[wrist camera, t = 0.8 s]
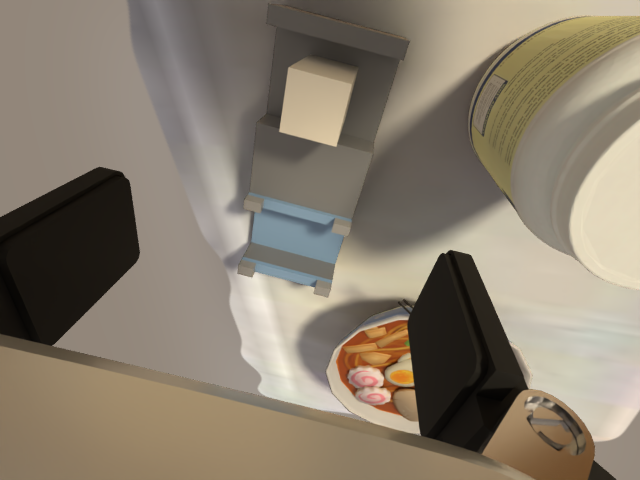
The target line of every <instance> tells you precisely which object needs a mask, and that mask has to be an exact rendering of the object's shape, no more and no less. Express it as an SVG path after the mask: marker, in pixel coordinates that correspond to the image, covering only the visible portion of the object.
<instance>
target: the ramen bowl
mask: <svg viewBox="0 0 640 480" xmlns="http://www.w3.org/2000/svg"><path fill="white" fill-rule="evenodd" d="M403 301H404V302H405V303H406V304H407V305H409V306H404V305H402V304H401V303H400V302H398V303H399V304H400V305H401V307H397V308H394V309H391V310H388V311H385V312H382V313H379V314H375V315H373V316H371V317H369V318H368V319H367V320H366V321H364V322H363V323H362V324H361V325H359V326H358V327H357V328H356V329H355V330H353V331H352V332H351V333H350V334H348V335H347V336H346V337H345V338H344V339H343V340H341V341H340V343H339V344H338V345H337V347H336V348H335V349H334V351H333V354H332V356H331V359H330V361H329V364H328V366H327V369H326V371H325V372H326V375H327V379H328V382H329V386H330V389H331V392H332V394H333V395H334V396H335V397H336V398H337V399H338V400H339V401H340V402H341V403H342V404H343V405H344V407H345V408H346V409H347V410H348V411H349V412H351V413H353V414H355V415H357V416H359V417H361V418H363V419H365V420H367V421H369V422H370V423H374V424H377V425H381V426H385V427H389V428H393V429H396V430H400V431H404V432H408V433H412V434H420V430H419V421H418V413H417V404H416V396H415V388H414V379H413V371H412V362H411V354H410V345H409V337H408V328H407V324H408V318H409V316H410V313H411V311H412V309H413V307H414V306H412V305H410V304H409V303H408V302H407V301H406V300H405V299H403ZM508 341H509V340H508ZM509 343H510V345H511V348H512V350H513V352H514V354H515V357H516V359H517V361H518V364H519V366H520V368H521V371H522V373H523V375H524V379H525V382H526V384H527V386H528V389H529V388H530V384H531V380H532V376H533V375H532V373H531V371H530V369H529V366H528V364H527V362H526V360H525V358H524V356H523V354H522V352H521V350H520V349H519V348H518V347H517V346H515V345H514V344H513V343H512V342H510V341H509Z"/></svg>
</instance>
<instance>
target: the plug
mask: <svg viewBox="0 0 640 480" xmlns="http://www.w3.org/2000/svg"><path fill="white" fill-rule="evenodd" d="M357 71H358V67H356V66H352V65H348V64H345V63H341V62H337V61H333V60H330V59H326V58H322V57H318V56H315V55H311V54H310V55H309V56H307V57H305V58H304V59H302V60H300V61H298V62H297V63H295V64H293V65H292V66H290V67H288V74H287V81H286V88H285V95H284V102H283V109H282V116H281V123H280V130H279V132H282V133H286V134H290V135H293V136H297V137H301V138H305V139H308V140H312V141H316V142H320V143H323V144H327V145H331V146H335V147H336V146H337V143H338V140H339V137H340V134H341V131H342V127H343V124H344V121H345V118H346V114H347V111H348V107H349V103H350V99H351V95H352V91H353V87H354V83H355V79H356V75H357Z"/></svg>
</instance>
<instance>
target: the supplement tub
mask: <svg viewBox="0 0 640 480" xmlns="http://www.w3.org/2000/svg"><path fill="white" fill-rule="evenodd" d="M468 132H469V139H470V143H471V146H472V148H473V151H474V153H475V154H476V156H477V158H478V159H479V160H480V162H481V163H482V164H483V165H484V167H485V168H486V169H487V171H488V172H489V174H490V175H491V176H492V178H493V179H494V181H495V182H496V184H497V185H498V187H499V188H500V189H501V191H502V192H503V193H504V195H505V196H506V198H507V199H508V200H509V202H510V203H511V205H512V206H513V207H514V209H515V210H516V212H517V213H518V215H519V217H520V219H521V220H522V222H523V223H524V224H525V225H526V227H527V228H528V229H529V230H530V231H531V232H532V233H533V234H534V235H536V236H537V237H538V238H539V239H540V240H542V241H543V242H544V243H546V244H547V245H549V246H550V247H552V248H554V249H556V250H558V251H560V252H563V253H565V254H567V255H571V256H572V257H573V258H575V259H576V260H577V261H579V262H580V263H581V264H582V265H583V266H584V267H585V268H586V269H587V270H588V271H590V272H591V273H592V274H594V275H595V276H597V277H599V278H601V279H602V280H604V281H607V282H609V283H611V284H614V285H618V286H621V287H625V288H630V289H636V290H640V16H574V17H568V18H564V19H560V20H557V21H554V22H551V23H549V24H546V25H544V26H541V27H539V28H537V29H535V30H533V31H531V32H529V33H528V34H526V35H524V36H523V37H521V38H520V39H518V40H517V41H516V42H514V43H513V44H511V45H510V46H509V47H508V48H507V49H506V50H504V51H503V52H502V53H501V54H500V55H499V56H498V58H497V59H496V60H495V61H494V62H493V63H492V64H491V66H490V67H489V68H488V70H487V71H486V73H485V74H484V76H483V77H482V79H481V81H480V82H479V84H478V86H477V88H476V91H475V93H474V96H473V99H472V102H471V105H470V110H469V116H468Z"/></svg>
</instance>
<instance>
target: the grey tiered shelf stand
mask: <svg viewBox="0 0 640 480" xmlns="http://www.w3.org/2000/svg"><path fill="white" fill-rule="evenodd" d="M266 24H268V25H272V26H276V27H277V29H276V37H275V46H274V54H273V63H272V72H271V80H270V89H269V97H268V106H267V114H266V115H265V116H264V117H262V118H261V119H260V120H259V121H258V122H257V123H256V133H255V143H254V153H253V163H252V173H251V183H250V192H249V194H248V195H247V196H246V198H245V199H244V208H243V209H246V210H250V211H253V212H255V214H254V223H253V231H252V240H251V243H250V245H249V247H248V249H247V251H246V252H245V254H244V256H243V258H242V260H241V261H240V263H239V265H238V274H241V275H244V276H248V277H253V274H254V272H259V273H262V274H266V275H270V276H274V277H277V278H281V279H285V280H289V281H293V282H296V283H300V284H304V285H308V286H311V287H315V290H314V294H316V295H320V296H324V297H328V296H329V293H330V290H331V285H332V279H333V273H334V268H335V263H336V260H337V257H338V254H339V250H340V247H341V244H342V241H343V238H344V236H348V235H349V232H350V229H351V223H352V218H353V215H354V212H355V209H356V205H357V202H358V199H359V196H360V193H361V190H362V187H363V184H364V181H365V178H366V175H367V171H368V168H369V165H370V162H371V159H372V156H373V147H374V140H375V137H376V133H377V130H378V127H379V124H380V121H381V118H382V114H383V111H384V108H385V105H386V102H387V99H388V96H389V92H390V89H391V86H392V83H393V80H394V77H395V74H396V70H397V67H398V64H399V61H400V60H404V57H405V54H406V51H407V48H408V45H409V42H410V41H409V40H408V39H406V38H404V37H401V36H397V35H393V34H389V33H386V32H382V31H378V30H374V29H371V28H367V27H363V26H359V25H356V24H352V23H348V22H344V21H341V20H337V19H333V18H329V17H326V16H322V15H318V14H315V13H311V12H307V11H303V10H300V9H296V8H292V7H288V6H285V5H278V4H269V3H268V13H267V23H266ZM310 54H311V55H315V56H318V57H322V58H326V59H330V60H333V61H337V62H341V63H345V64H348V65H352V66H356V67H358V71H357V75H356V79H355V83H354V87H353V91H352V95H351V99H350V103H349V107H348V111H347V114H346V118H345V121H344V124H343V127H342V131H341V134H340V137H339V140H338V143H337V146H336V147H335V146H331V145H327V144H323V143H320V142H316V141H312V140H308V139H305V138H301V137H297V136H293V135H290V134H286V133H282V132H279V130H280V123H281V116H282V109H283V102H284V95H285V88H286V81H287V74H288V67H290V66H292V65H293V64H295V63H297V62H298V61H300V60H302V59H304V58H305V57H307V56H309V55H310Z"/></svg>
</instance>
